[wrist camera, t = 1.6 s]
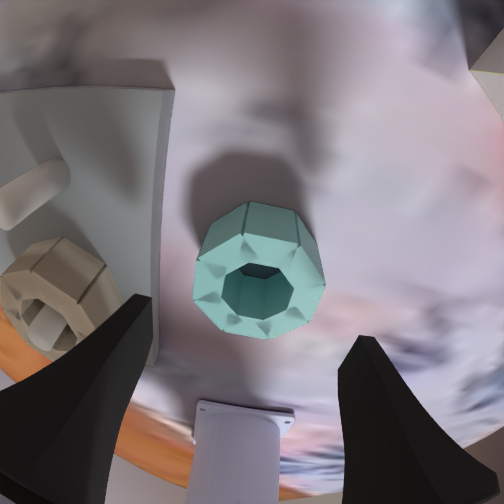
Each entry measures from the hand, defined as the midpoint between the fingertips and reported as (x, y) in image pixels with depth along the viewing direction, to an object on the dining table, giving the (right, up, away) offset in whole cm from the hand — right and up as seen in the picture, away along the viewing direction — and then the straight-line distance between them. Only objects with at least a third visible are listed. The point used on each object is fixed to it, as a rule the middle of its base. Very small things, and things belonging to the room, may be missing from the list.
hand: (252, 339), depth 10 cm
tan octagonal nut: (-10, +1, +5) cm, 12 cm away
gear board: (-11, +4, +5) cm, 12 cm away
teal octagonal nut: (0, +3, +5) cm, 6 cm away
